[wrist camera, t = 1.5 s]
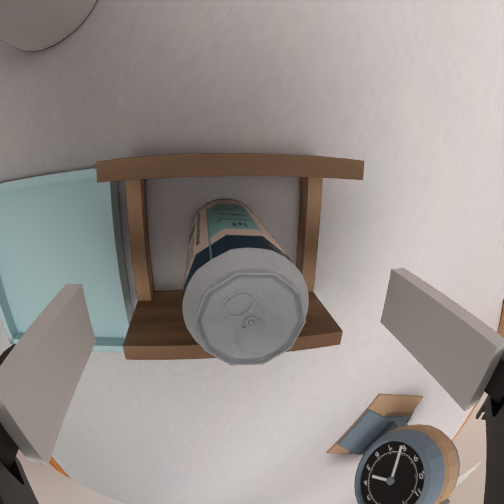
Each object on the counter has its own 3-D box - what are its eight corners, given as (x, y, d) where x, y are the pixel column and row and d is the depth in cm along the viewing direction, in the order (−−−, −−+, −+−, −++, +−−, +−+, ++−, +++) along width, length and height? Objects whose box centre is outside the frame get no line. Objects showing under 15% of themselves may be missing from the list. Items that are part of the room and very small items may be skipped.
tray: (-16, 186, 16) (-28, 190, 15) (116, 165, 18) (109, 167, 17) (18, 333, 21) (10, 343, 19) (138, 339, 23) (134, 352, 21)
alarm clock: (383, 387, 31) (458, 495, 14) (426, 390, 33) (492, 474, 17) (322, 455, 34) (364, 554, 18) (369, 452, 37) (412, 533, 20)
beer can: (214, 274, 22) (231, 391, 11) (177, 222, 20) (152, 308, 9) (269, 239, 22) (336, 331, 11) (235, 184, 20) (278, 228, 9)
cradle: (130, 157, 18) (95, 161, 12) (315, 155, 20) (364, 160, 14) (143, 303, 22) (126, 359, 15) (305, 294, 24) (339, 344, 18)
